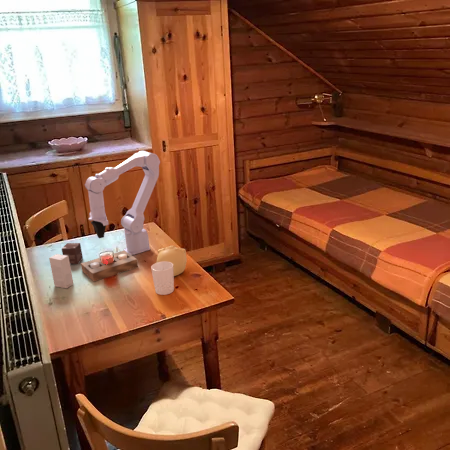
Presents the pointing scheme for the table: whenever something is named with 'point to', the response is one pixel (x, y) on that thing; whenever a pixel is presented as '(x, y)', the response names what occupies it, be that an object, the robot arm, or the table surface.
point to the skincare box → (61, 271)
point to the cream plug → (122, 256)
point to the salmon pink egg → (110, 260)
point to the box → (73, 252)
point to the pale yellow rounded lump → (173, 258)
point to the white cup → (163, 277)
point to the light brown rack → (109, 266)
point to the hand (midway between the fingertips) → (101, 237)
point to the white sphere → (94, 265)
